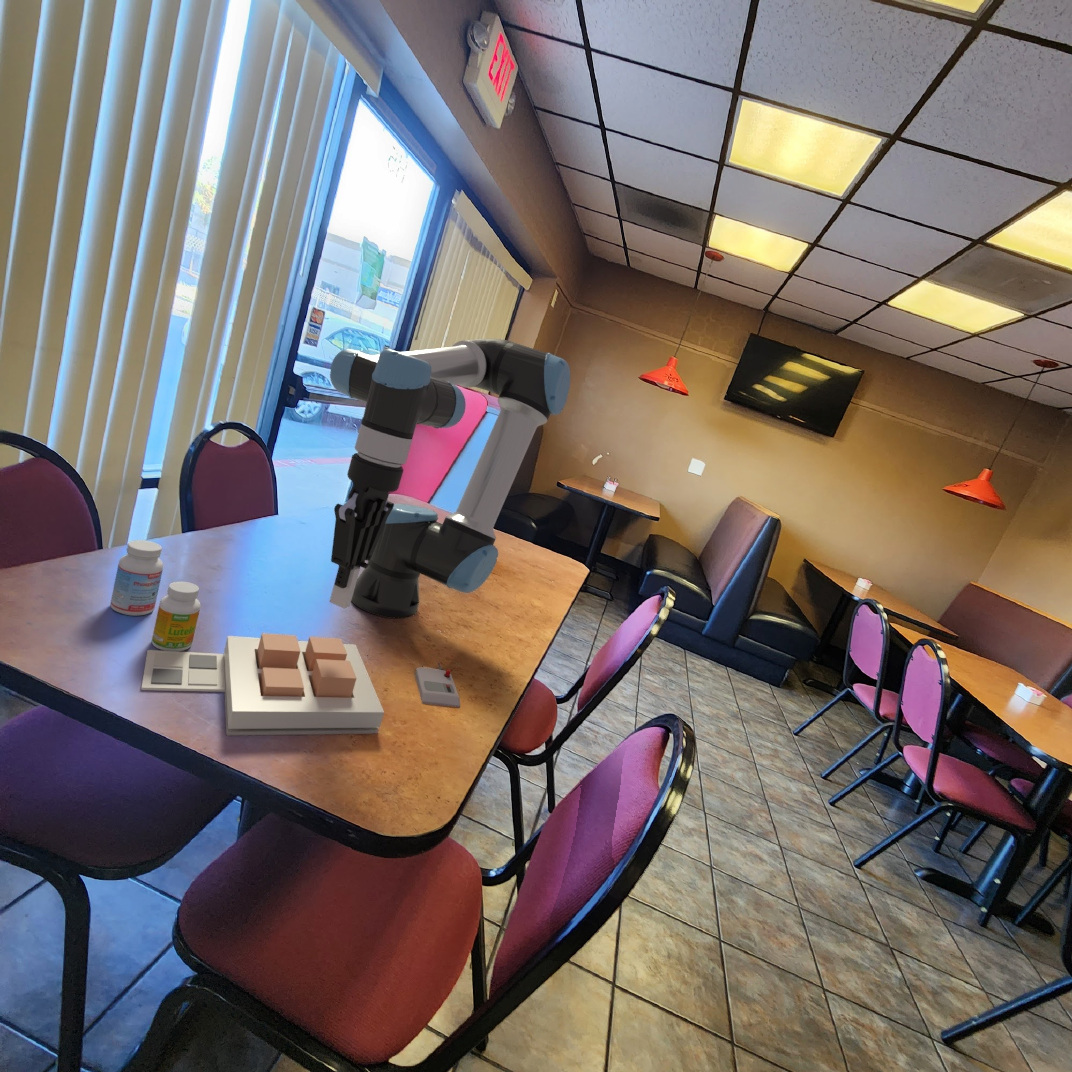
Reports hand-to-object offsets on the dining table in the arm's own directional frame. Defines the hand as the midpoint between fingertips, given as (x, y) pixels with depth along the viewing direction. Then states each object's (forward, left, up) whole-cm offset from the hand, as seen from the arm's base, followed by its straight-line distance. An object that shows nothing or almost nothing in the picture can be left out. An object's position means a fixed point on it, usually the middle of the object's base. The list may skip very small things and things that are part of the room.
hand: (339, 603), depth 90 cm
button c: (0, +7, -11) cm, 13 cm away
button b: (+7, 0, -11) cm, 13 cm away
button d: (0, 0, -11) cm, 11 cm away
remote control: (-20, 0, -15) cm, 25 cm away
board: (+3, +3, -14) cm, 15 cm away
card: (+18, -2, -14) cm, 23 cm away
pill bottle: (+26, -21, -14) cm, 36 cm away
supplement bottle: (+20, -10, -14) cm, 27 cm away
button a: (+7, +7, -12) cm, 16 cm away
